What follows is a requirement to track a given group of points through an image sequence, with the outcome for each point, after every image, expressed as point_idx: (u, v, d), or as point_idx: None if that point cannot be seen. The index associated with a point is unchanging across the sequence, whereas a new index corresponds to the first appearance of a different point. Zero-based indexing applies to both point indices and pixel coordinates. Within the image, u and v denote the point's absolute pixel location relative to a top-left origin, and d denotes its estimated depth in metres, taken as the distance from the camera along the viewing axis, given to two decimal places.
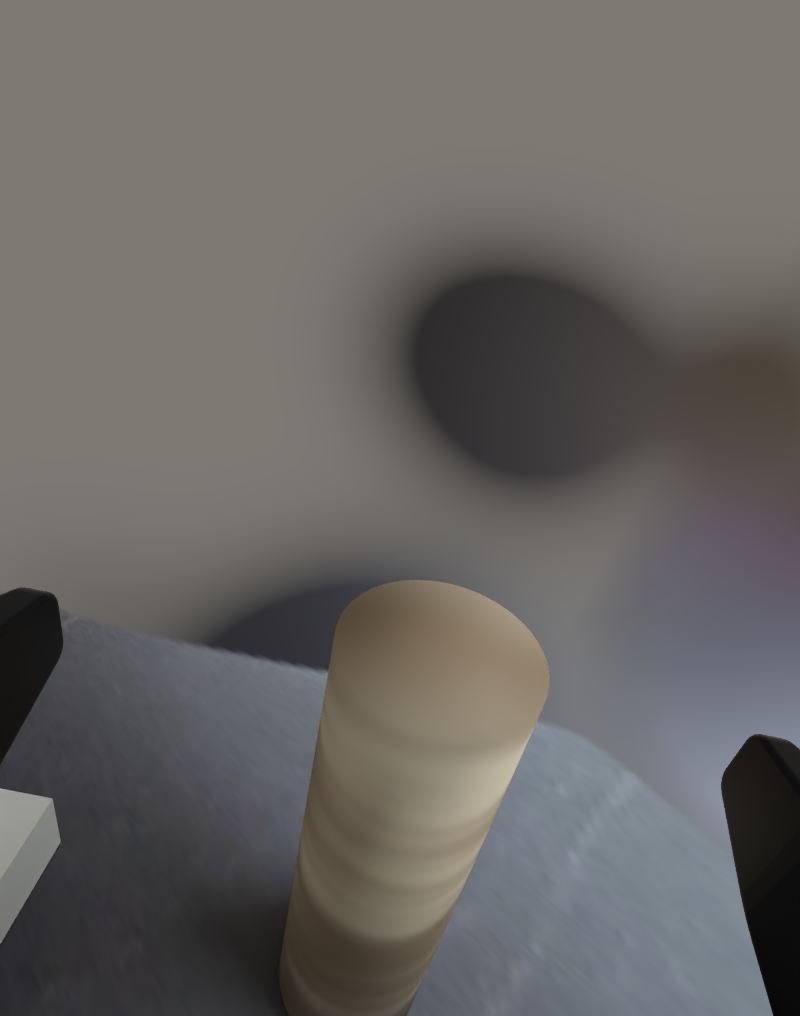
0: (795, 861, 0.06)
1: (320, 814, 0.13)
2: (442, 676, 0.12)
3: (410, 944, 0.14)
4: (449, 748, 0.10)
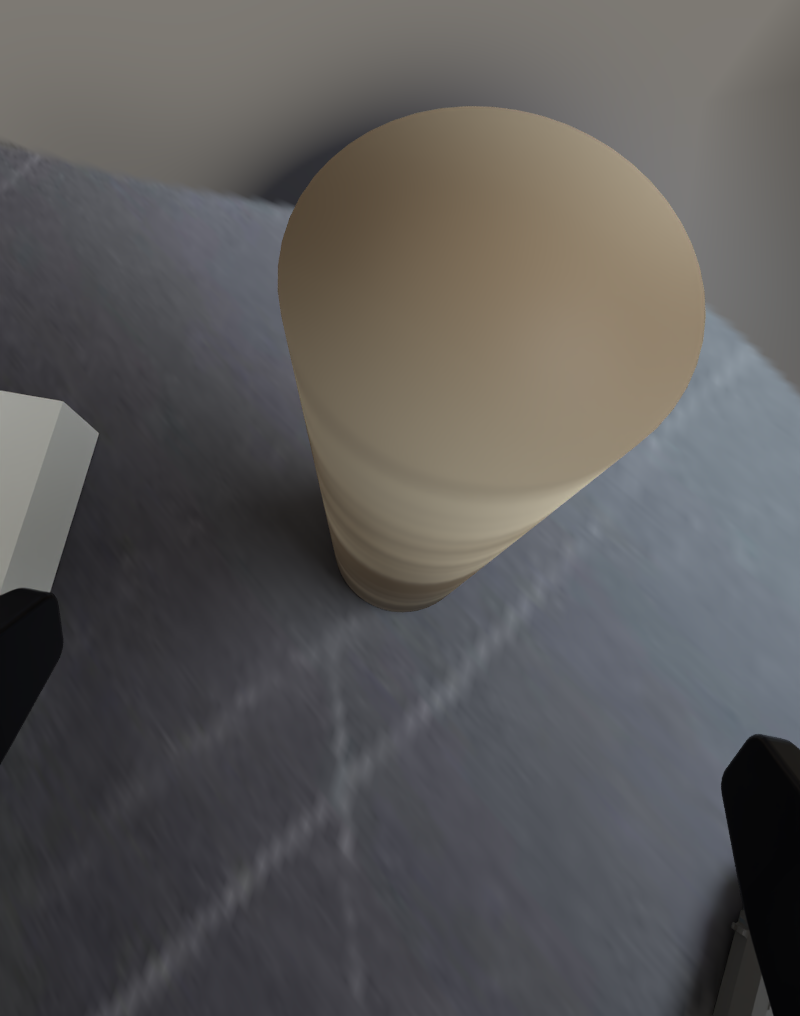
0: (795, 861, 0.06)
1: (324, 487, 0.10)
2: (489, 345, 0.06)
3: (450, 582, 0.13)
4: (489, 490, 0.06)
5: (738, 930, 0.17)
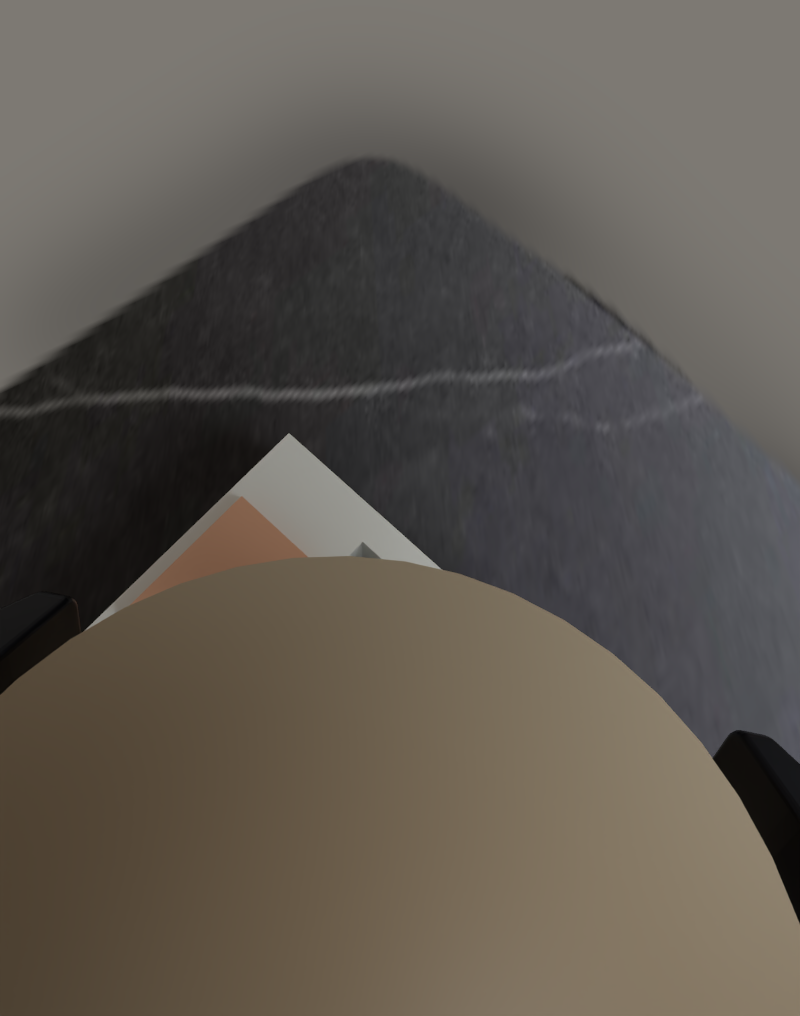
0: (772, 857, 0.06)
1: None
2: None
3: None
4: None
5: None
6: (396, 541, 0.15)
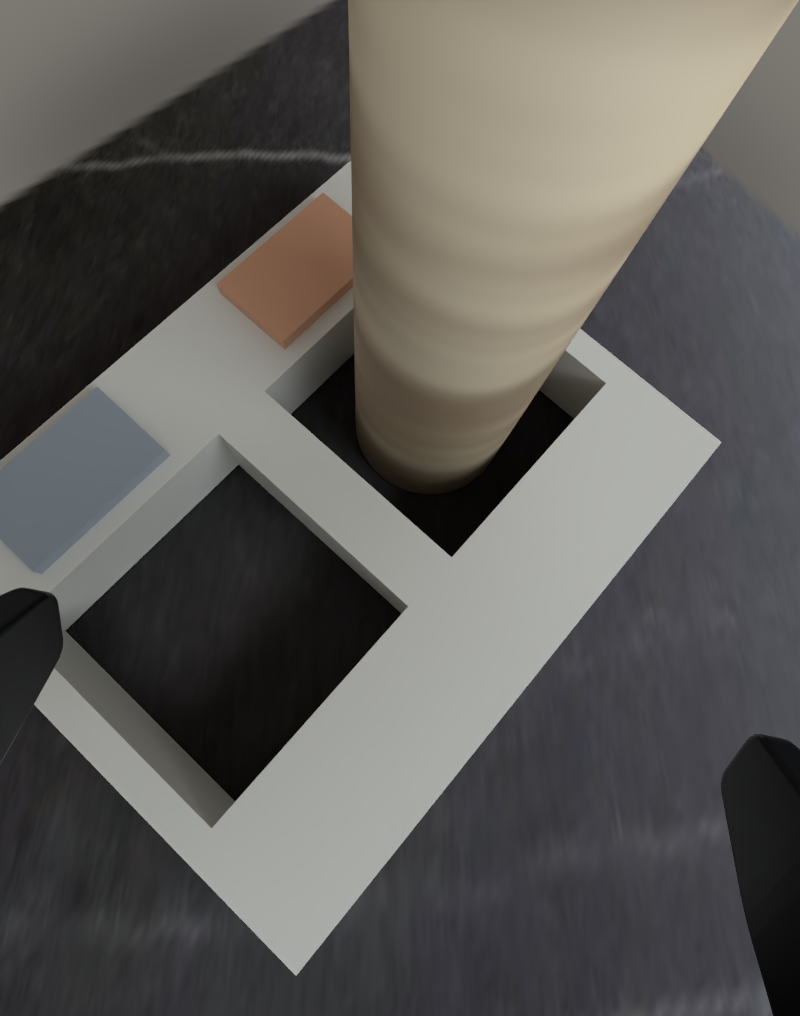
0: (795, 861, 0.06)
1: (367, 225, 0.08)
2: None
3: (498, 399, 0.11)
4: None
5: None
6: None
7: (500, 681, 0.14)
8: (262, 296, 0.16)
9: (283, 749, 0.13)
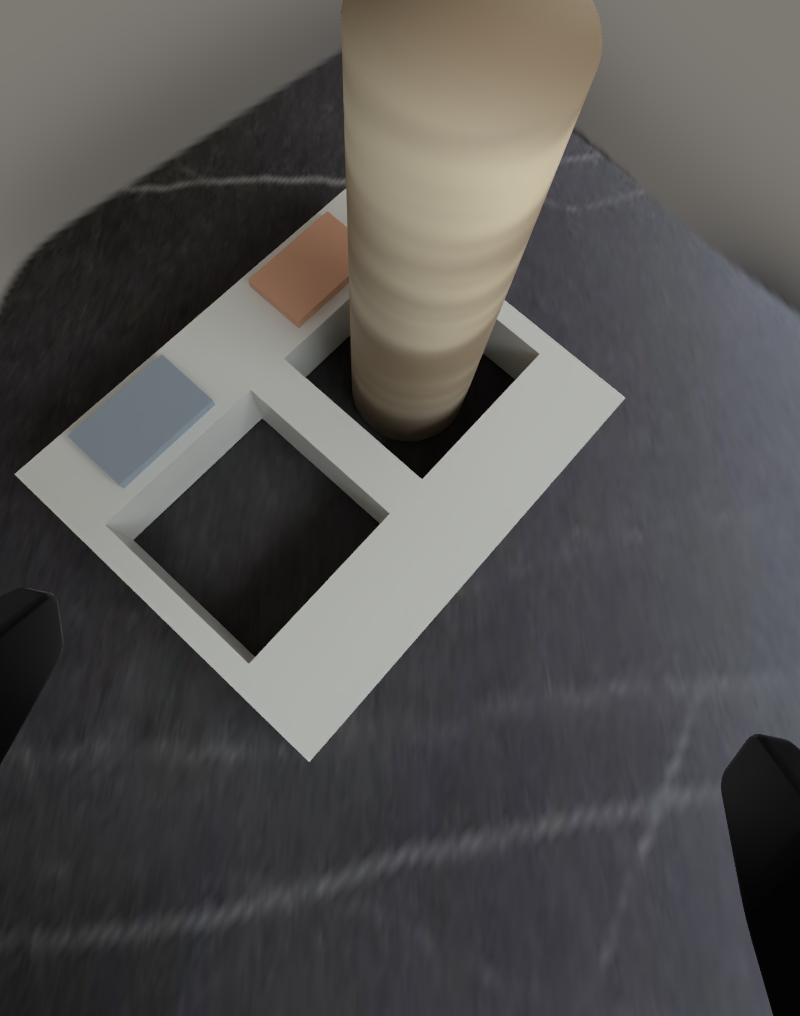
0: (795, 861, 0.06)
1: (356, 241, 0.14)
2: (469, 58, 0.10)
3: (447, 356, 0.17)
4: (468, 140, 0.10)
5: None
6: None
7: (456, 566, 0.19)
8: (282, 288, 0.21)
9: (299, 611, 0.19)
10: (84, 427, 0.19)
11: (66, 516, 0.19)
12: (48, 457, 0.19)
